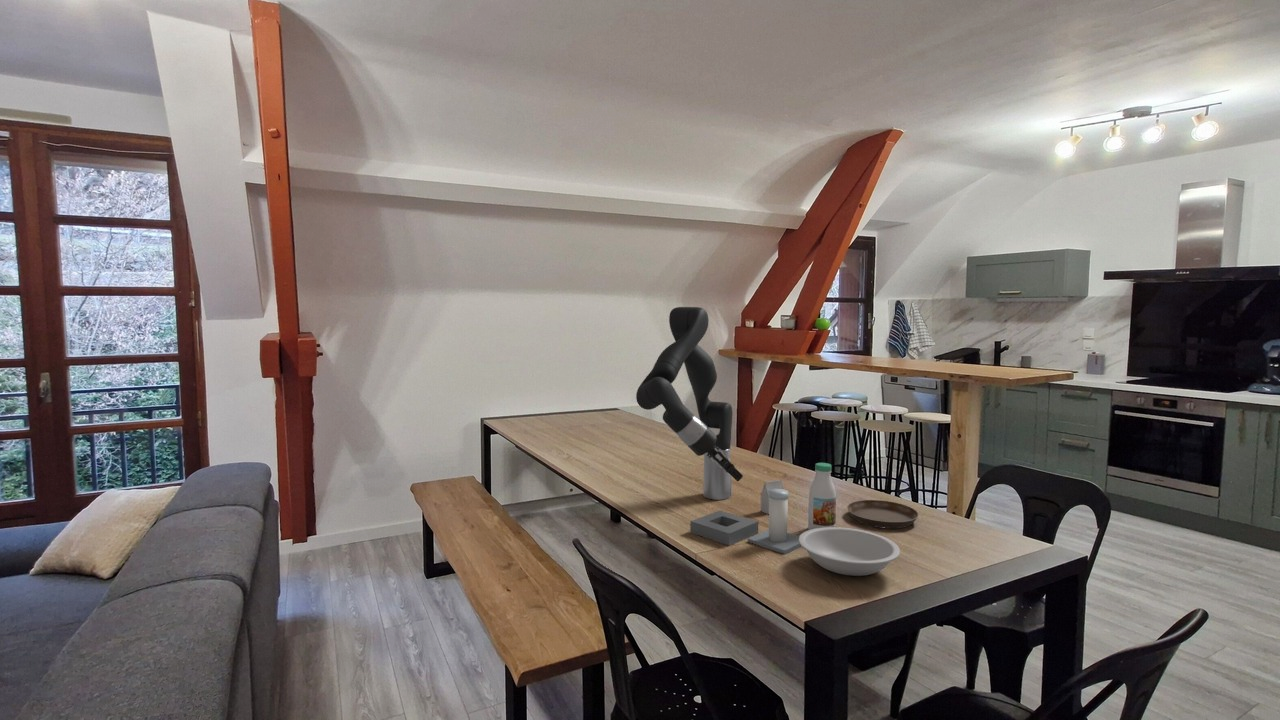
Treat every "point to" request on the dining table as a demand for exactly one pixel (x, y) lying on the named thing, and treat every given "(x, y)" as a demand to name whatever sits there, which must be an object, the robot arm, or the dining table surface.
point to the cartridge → (778, 514)
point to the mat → (780, 547)
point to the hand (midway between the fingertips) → (735, 474)
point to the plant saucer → (882, 513)
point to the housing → (724, 527)
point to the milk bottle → (822, 499)
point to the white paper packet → (765, 493)
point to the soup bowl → (849, 550)
